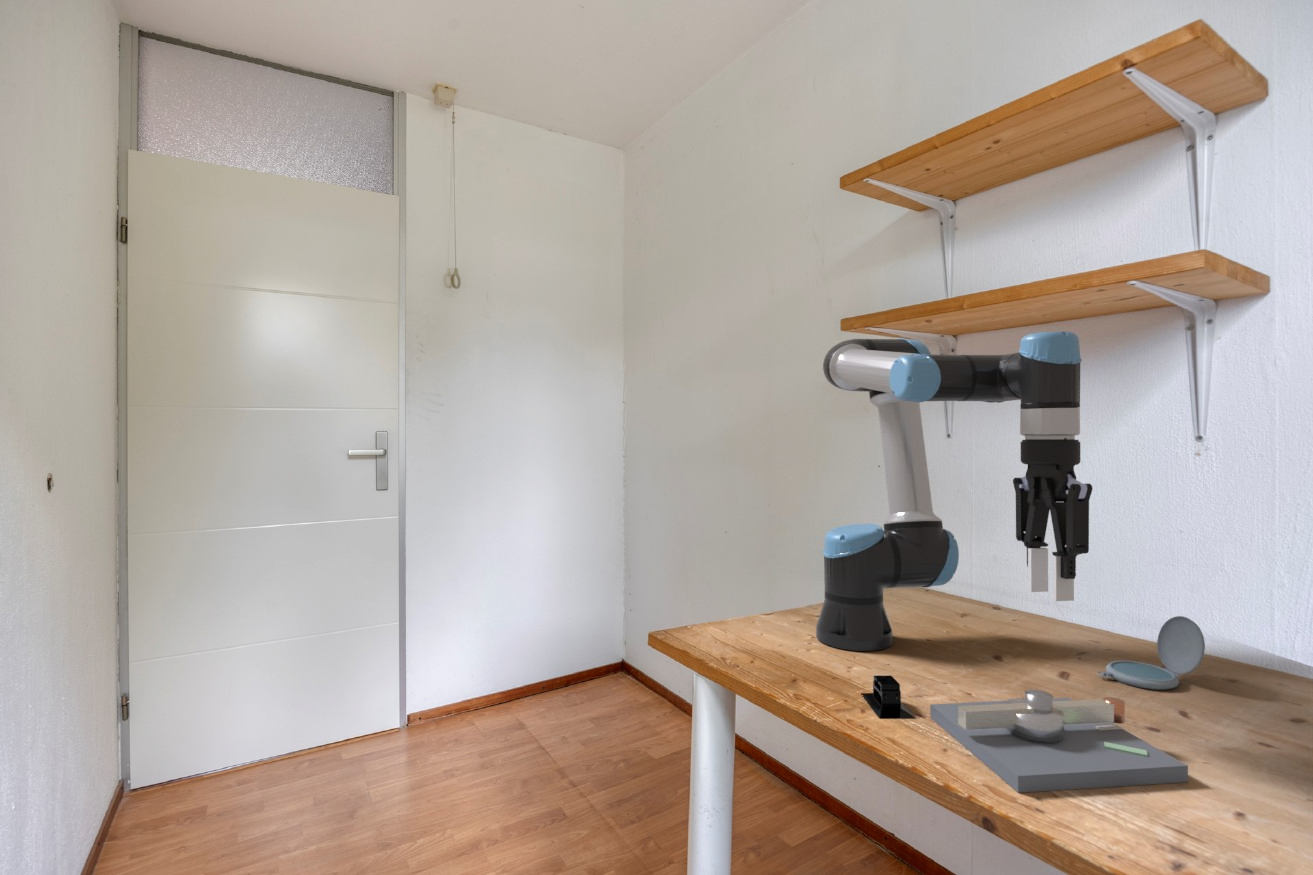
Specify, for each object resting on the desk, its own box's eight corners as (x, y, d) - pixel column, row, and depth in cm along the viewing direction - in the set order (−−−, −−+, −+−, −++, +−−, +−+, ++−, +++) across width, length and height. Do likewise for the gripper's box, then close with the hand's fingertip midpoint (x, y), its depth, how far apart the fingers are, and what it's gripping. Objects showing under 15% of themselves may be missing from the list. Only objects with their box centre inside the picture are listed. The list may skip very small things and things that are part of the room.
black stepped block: (852, 692, 106) (852, 665, 106) (896, 692, 106) (895, 665, 106) (877, 726, 94) (877, 696, 94) (927, 726, 94) (927, 695, 94)
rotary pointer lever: (947, 721, 89) (947, 687, 89) (1102, 713, 91) (1101, 680, 91) (977, 746, 82) (977, 709, 82) (1143, 736, 84) (1143, 700, 84)
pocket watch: (1212, 626, 104) (1117, 625, 105) (1212, 692, 104) (1117, 691, 105) (1166, 609, 114) (1080, 608, 115) (1166, 669, 114) (1080, 668, 115)
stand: (930, 717, 95) (930, 702, 95) (1067, 710, 97) (1067, 696, 97) (1018, 792, 75) (1018, 773, 75) (1187, 781, 77) (1187, 763, 77)
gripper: (1122, 438, 85) (1122, 611, 85) (1033, 437, 103) (1033, 580, 103) (1070, 438, 85) (1070, 613, 85) (989, 437, 102) (989, 582, 102)
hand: (1050, 595), depth 94 cm, fingers open, 4 cm apart
